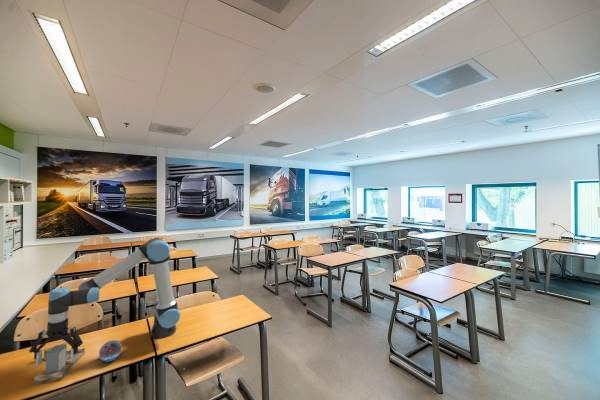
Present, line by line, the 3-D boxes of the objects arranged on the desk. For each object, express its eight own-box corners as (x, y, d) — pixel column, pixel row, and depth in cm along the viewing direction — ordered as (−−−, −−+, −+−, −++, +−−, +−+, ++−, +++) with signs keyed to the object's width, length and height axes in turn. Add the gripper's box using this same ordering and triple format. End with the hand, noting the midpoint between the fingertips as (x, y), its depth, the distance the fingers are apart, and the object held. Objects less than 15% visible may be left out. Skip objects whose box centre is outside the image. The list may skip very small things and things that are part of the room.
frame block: (66, 365, 126) (67, 344, 126) (57, 374, 120) (58, 351, 120) (54, 367, 125) (55, 345, 125) (45, 376, 118) (46, 353, 118)
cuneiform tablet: (74, 353, 139) (44, 363, 130) (72, 351, 142) (43, 361, 132) (75, 339, 140) (45, 349, 131) (73, 338, 143) (43, 347, 133)
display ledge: (84, 353, 139) (85, 347, 139) (60, 380, 118) (60, 373, 118) (63, 356, 136) (63, 350, 136) (34, 384, 115) (34, 377, 115)
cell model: (98, 369, 126) (99, 350, 127) (98, 357, 136) (99, 340, 136) (122, 361, 133) (123, 344, 133) (121, 351, 142) (121, 334, 142)
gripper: (92, 313, 130) (90, 354, 130) (31, 319, 122) (29, 362, 122) (84, 320, 123) (82, 363, 122) (20, 326, 115) (17, 372, 115)
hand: (56, 362), depth 122 cm, fingers open, 13 cm apart
